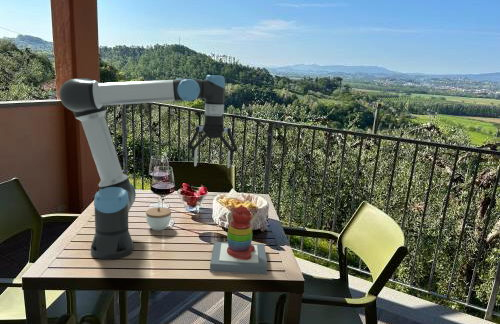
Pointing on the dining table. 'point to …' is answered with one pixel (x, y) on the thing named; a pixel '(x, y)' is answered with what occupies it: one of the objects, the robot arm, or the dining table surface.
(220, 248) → the slate plinth
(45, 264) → the dining table surface
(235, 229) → the stacking bear
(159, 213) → the lidded jar
